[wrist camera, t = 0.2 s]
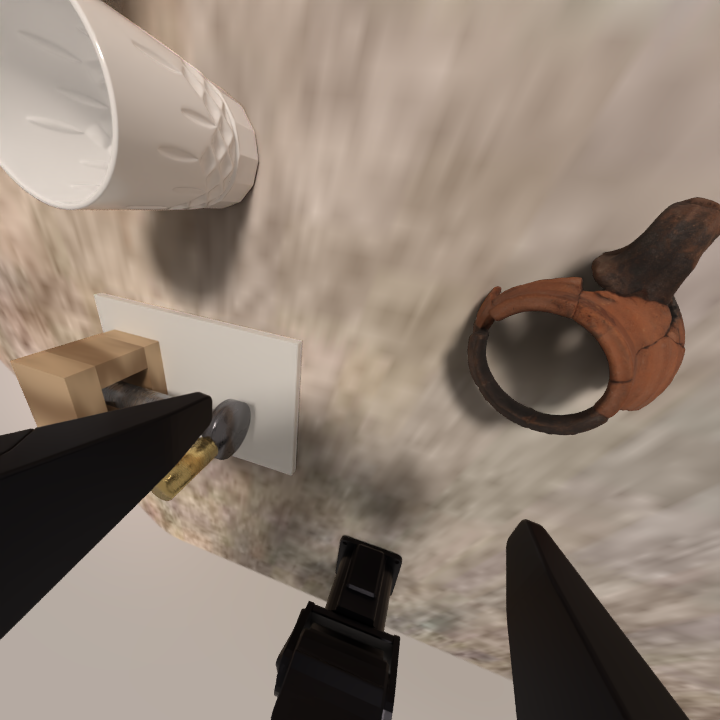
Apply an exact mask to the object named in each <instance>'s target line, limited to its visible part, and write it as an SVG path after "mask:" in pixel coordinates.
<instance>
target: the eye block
mask: <svg viewBox="0 0 720 720" xmlns="http://www.w3.org/2000/svg"><path fill="white" fill-rule="evenodd" d="M10 362H11V364H12V367H13V369H14V372H15V374H16V376H17V379H18V381H19V384H20V386H21V388H22V391H23V393H24V396H25V398H26V400H27V403H28V405H29V407H30V410H31V412H32V415H33V417H34V419H35V422H36V424H37V427H41V426H46V425H50V424H55V423H59V422H64V421H68V420H73V419H77V418H82V417H86V416H91V415H95V414H100V413H104V412H109V411H113V410H118V409H119V408H116V407H112V406H109V405H106V403H105V400H104V396H103V393H102V389H103V388H105V387H107V386H109V385H112V384H114V383H116V382H118V381H123V382H126V383H130V384H133V385H136V386H139V387H143V388H146V389H149V390H153V391H156V392H159V393H162V394H166V395H168V391H167V385H166V379H165V374H164V368H163V362H162V356H161V350H160V345H159V341H156V340H152V339H149V338H145V337H141V336H137V335H134V334H130V333H126V332H122V331H118V330H115V329H114V330H111V331H108V332H104V333H101V334H98V335H94V336H91V337H88V338H84V339H81V340H78V341H74V342H71V343H68V344H65V345H61V346H58V347H55V348H51V349H48V350H45V351H41V352H38V353H35V354H31V355H28V356H25V357H22V358H18V359H15V360H12V361H10Z"/></svg>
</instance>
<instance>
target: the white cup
mask: <svg viewBox="0 0 720 720" xmlns="http://www.w3.org/2000/svg"><path fill="white" fill-rule="evenodd" d="M258 161H259V160H258V152H257V144H256V137H255V132H254V130H253V128H252V126H251V124H250V122H249V119H248V117H247V115H246V113H245V111H244V109H243V107H242V106H241V105H240V104H239V103H238V102H237V101H235V100H234V99H233V98H232V97H231V96H230V95H229V94H227V93H226V92H225V91H224V90H223V89H222V88H220V87H219V86H217V85H216V84H214V83H213V82H211V81H210V80H208V79H207V78H206V77H205V76H204V75H203V74H202V73H201V72H200V71H199V70H198V69H196V68H195V67H194V66H192V65H191V64H189V63H188V62H187V61H185V60H184V59H183V58H181V57H180V56H179V55H178V54H176V53H175V52H174V51H172V50H171V49H170V48H168V47H167V46H166V45H164V44H163V43H161V42H160V41H159V40H157V39H156V38H154V37H153V36H152V35H150V34H149V33H147V32H146V31H144V30H143V29H142V28H140V27H139V26H137V25H136V24H135V23H133V22H132V21H130V20H129V19H127V18H126V17H125V16H123V15H122V14H120V13H119V12H117V11H116V10H115V9H113V8H112V7H110V6H109V5H107V4H106V3H105V2H103V1H102V0H0V166H1V167H2V168H3V170H4V171H5V172H6V173H7V174H8V175H9V176H10V177H11V178H12V179H13V180H14V181H15V182H16V183H17V184H18V185H19V186H20V187H21V188H22V189H24V190H25V191H26V192H27V193H29V194H30V195H32V196H33V197H35V198H36V199H38V200H39V201H41V202H43V203H45V204H47V205H50V206H52V207H55V208H59V209H64V210H191V209H199V208H225V207H228V206H231V205H234V204H236V203H239V202H241V201H242V199H243V198H244V197H245V195H246V194H247V193H248V191H249V190H250V189H251V188H252V186H253V184H254V179H255V175H256V170H257V166H258Z"/></svg>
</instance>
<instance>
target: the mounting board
mask: <svg viewBox="0 0 720 720" xmlns="http://www.w3.org/2000/svg"><path fill="white" fill-rule="evenodd" d="M94 298H95V302H96V306H97V310H98V314H99V318H100V322H101V325H102V329H103V333H104V332H108V331H111V330H114V329H115V330H118V331H122V332H126V333H130V334H134V335H137V336H141V337H145V338H149V339H152V340H156V341H159V345H160V350H161V356H162V362H163V368H164V374H165V379H166V385H167V391H168V395H169V396H172V397H176V396H181V395H185V394H189V393H194V392H201V393H204V394H207V395H209V396H211V398H212V401H213V402H212V409H215V408H216V407H217V406H218V405H219V404H220V403H221V402H223V401H225V400H227V399H235V400H238V401H241V402H245V403H247V404H248V406H249V408H250V411H251V420H250V425H249V429H248V432H247V435H246V437H245V439H244V441H243V443H242V444H241V446H240V447H239V448H238V450H237V451H236V452H235V453H234V454H233V455H232V456H234V457H237V458H240V459H243V460H246V461H249V462H252V463H255V464H258V465H261V466H264V467H267V468H270V469H273V470H276V471H279V472H282V473H285V474H288V475H291V476H292V475H293V473H294V472H295V470H296V454H297V434H298V415H299V396H300V377H301V358H302V340H298V339H294V338H289V337H285V336H281V335H277V334H273V333H268V332H264V331H260V330H256V329H252V328H248V327H243V326H239V325H235V324H231V323H227V322H223V321H218V320H214V319H210V318H206V317H202V316H197V315H193V314H189V313H185V312H181V311H177V310H172V309H168V308H164V307H160V306H156V305H152V304H147V303H143V302H139V301H135V300H131V299H126V298H122V297H118V296H114V295H110V294H106V293H99V294H94ZM200 437H202V436H200ZM200 437H199V438H200Z"/></svg>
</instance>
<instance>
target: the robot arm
mask: <svg viewBox="0 0 720 720" xmlns="http://www.w3.org/2000/svg"><path fill="white" fill-rule="evenodd" d="M212 402H213V401H212V398H211V396H209V395H207V394H204V393H201V392H194V393H189V394H185V395H181V396H176V397H172V398H167V399H163V400H158V401H154V402H149V403H145V404H140V405H136V406H131V407H127V408H122V409H118V410H113V411H109V412H104V413H100V414H95V415H91V416H86V417H82V418H77V419H73V420H68V421H64V422H59V423H55V424H50V425H46V426H41V427H37V428H35V429H27V430H23V431H18V432H15V433H10V434H5V435H0V639H2V638H3V637H4V636H5V634H6V633H8V632H9V631H10V629H12V628H13V627H14V626H15V625H16V624H17V623H18V622H19V621H20V620H21V619H22V618H23V617H24V616H25V615H26V614H27V613H28V612H29V611H30V610H31V609H32V608H33V607H34V606H35V605H36V604H37V603H38V602H39V601H40V600H41V599H42V598H43V597H44V596H45V595H46V594H47V593H48V592H49V591H50V590H51V589H52V588H53V587H54V586H55V585H56V584H57V583H58V582H59V581H60V580H61V579H62V578H63V577H64V576H65V575H66V574H67V573H68V572H69V571H70V570H71V569H72V568H73V567H74V566H75V565H76V564H77V563H78V562H79V561H80V560H81V559H82V558H83V557H84V556H85V555H86V554H87V553H88V552H89V551H90V550H91V549H92V548H93V547H94V546H95V545H96V544H97V543H99V542H100V541H101V540H102V539H103V537H105V536H106V534H107V533H109V532H110V531H111V530H112V529H113V528H114V527H115V526H116V525H117V524H118V523H119V522H120V521H121V520H122V519H123V518H124V517H125V516H126V515H127V514H128V513H129V512H130V511H131V510H132V509H133V508H134V507H135V506H136V505H137V504H138V503H139V502H140V501H141V500H142V499H143V498H144V497H145V496H146V495H147V494H148V493H149V492H150V491H151V490H152V489H153V488H154V487H155V486H156V485H157V484H158V483H159V482H160V481H161V480H162V479H163V478H164V477H165V476H166V475H167V474H168V473H169V472H170V471H171V470H172V469H173V468H174V467H175V466H176V465H177V464H178V462H179V461H180V460H181V459H182V458H183V457H184V455H185V454H186V453H187V452H188V451H189V449H190V448H191V447H192V446H193V445H194V443H195V442H196V441H197V440H198V439H199V437H200V436H201V435H202V434H203V433H204V431H205V430H206V429H207V428H208V427H209V425H210V423H211V421H212ZM401 564H402V558H401V557H400V556H398V555H396V554H393V553H390V552H388V551H385V550H382V549H379V548H377V547H374V546H371V545H368V544H366V543H363V542H360V541H357V540H355V539H352V538H349V537H346V536H343V537H342V539H341V542H340V548H339V555H338V561H337V567H336V577H335V580H334V583H333V586H332V589H331V592H330V595H329V598H328V601H327V604H326V607H325V608H323V607H320V606H318V605H315V604H314V602H311V601H309V602H308V604H307V607H306V608H305V609H302V610H301V612H300V615H299V618H298V620H297V623H296V625H295V627H294V629H293V631H292V633H291V635H290V637H289V638H288V640H287V642H286V644H285V645H284V647H283V649H282V650H281V652H280V654H279V656H278V658H277V661H276V667H277V672H278V674H277V679H276V685H275V690H274V695H275V696H277V697H278V698H277V701H276V703H275V706H274V709H273V712H272V716H271V720H391V719H392V713H393V705H394V697H395V688H396V677H397V666H398V655H399V645H400V637H399V636H397V635H394V636H393V635H390V634H388V633H386V632H384V627H385V622H386V616H387V610H388V604H389V598H390V596H391V595H392V592H393V589H394V586H395V583H396V580H397V577H398V574H399V571H400V567H401ZM506 611H507V625H508V636H509V645H510V655H511V665H512V675H513V684H514V694H515V705H516V714H517V720H689V718H688V717H687V716H686V714H685V713H684V712H683V711H682V709H681V708H680V707H679V705H678V704H677V703H676V701H675V700H674V699H673V697H672V696H671V695H670V693H669V692H668V691H667V689H666V688H665V687H664V685H663V684H662V683H661V682H660V680H659V679H658V678H657V676H656V675H655V674H654V672H653V671H652V670H651V668H650V667H649V666H648V664H647V663H646V662H645V660H644V659H643V658H642V657H641V655H640V654H639V653H638V651H637V650H636V649H635V647H634V646H633V645H632V643H631V642H630V641H629V639H628V638H627V637H626V635H625V634H624V633H623V631H622V630H621V629H620V628H619V626H618V625H617V624H616V622H615V621H614V620H613V618H612V617H611V616H610V614H609V613H608V612H607V610H606V609H605V608H604V606H603V605H602V604H601V603H600V601H599V600H598V599H597V597H596V596H595V595H594V593H593V592H592V591H591V589H590V588H589V587H588V585H587V584H586V583H585V581H584V580H583V579H582V578H581V576H580V575H579V574H578V572H577V571H576V570H575V568H574V567H573V566H572V564H571V563H570V562H569V560H568V559H567V558H566V556H565V555H564V554H563V552H562V551H561V550H560V549H559V547H558V546H557V545H556V543H555V542H554V541H553V539H552V538H551V537H550V535H549V534H548V533H547V531H546V530H545V529H544V528H543V527H542V526H541V525H539V524H537V523H535V522H532V521H530V520H527V519H524V520H522V521H521V522H520V523H519V524H518V526H517V527H516V528H515V530H514V531H513V532H512V534H511V535H510V537H509V538H508V541H507V545H506Z"/></svg>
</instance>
